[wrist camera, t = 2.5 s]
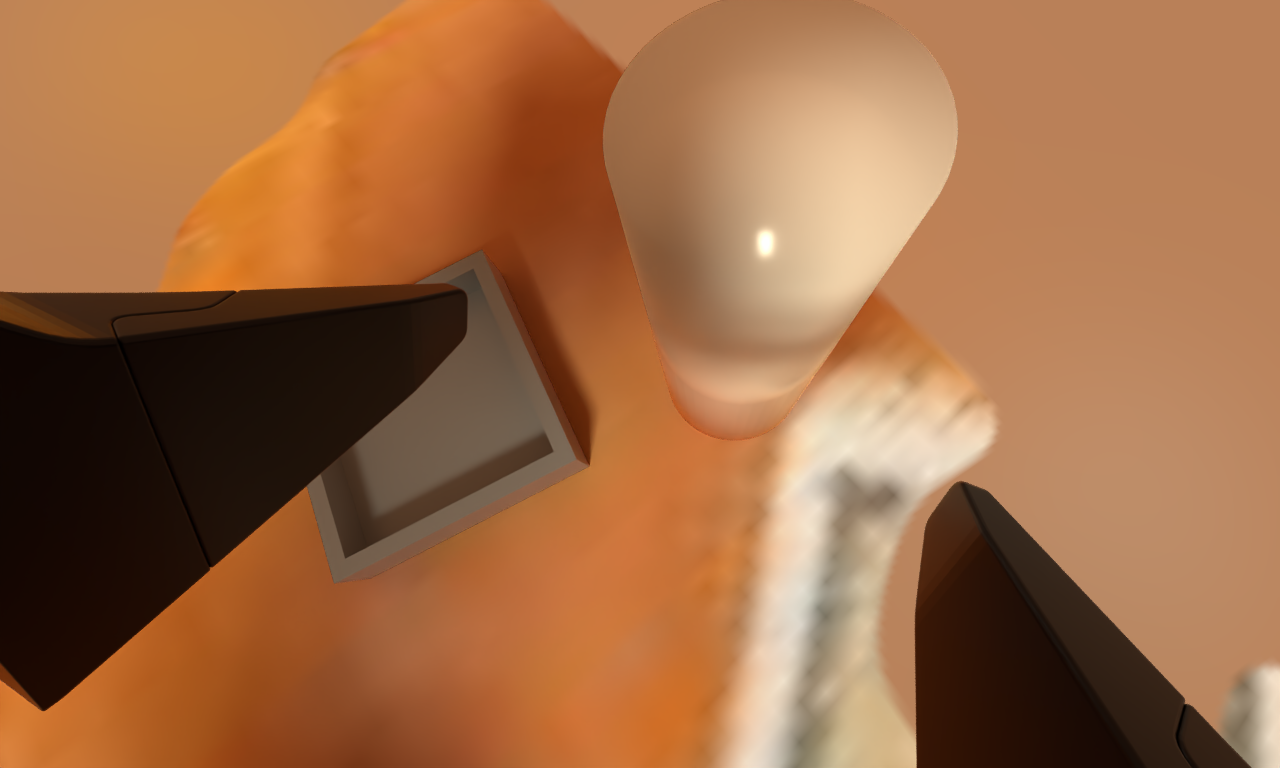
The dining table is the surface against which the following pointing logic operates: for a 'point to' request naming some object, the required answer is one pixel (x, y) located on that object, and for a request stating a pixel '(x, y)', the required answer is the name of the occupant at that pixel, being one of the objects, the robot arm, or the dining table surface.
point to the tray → (449, 442)
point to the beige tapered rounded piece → (770, 190)
